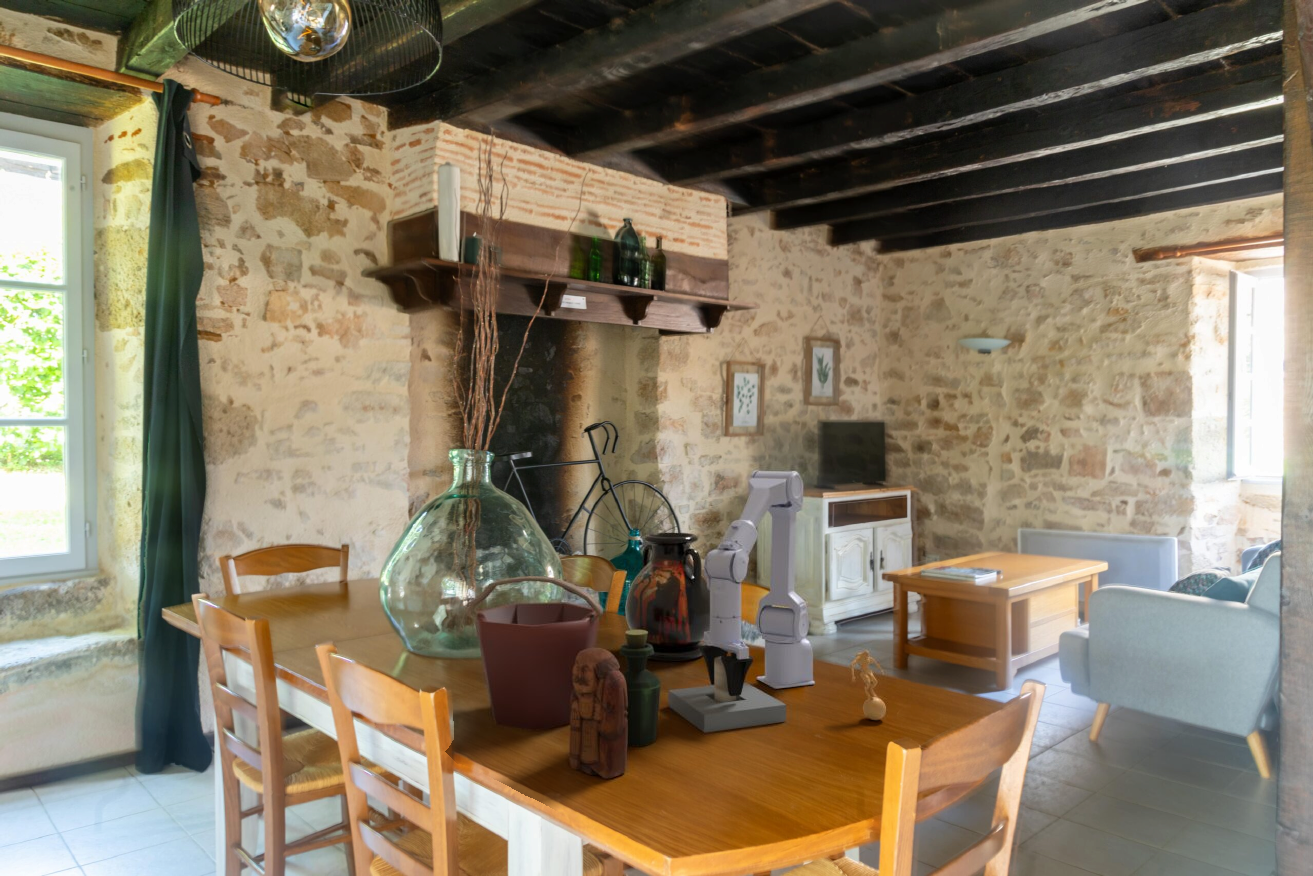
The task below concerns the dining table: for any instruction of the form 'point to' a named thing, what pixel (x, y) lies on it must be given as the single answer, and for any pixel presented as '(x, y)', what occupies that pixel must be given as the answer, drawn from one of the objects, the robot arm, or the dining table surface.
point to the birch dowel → (721, 683)
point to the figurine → (872, 705)
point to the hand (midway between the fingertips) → (725, 689)
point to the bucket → (533, 654)
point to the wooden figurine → (598, 715)
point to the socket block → (726, 708)
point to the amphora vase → (670, 598)
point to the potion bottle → (640, 690)
